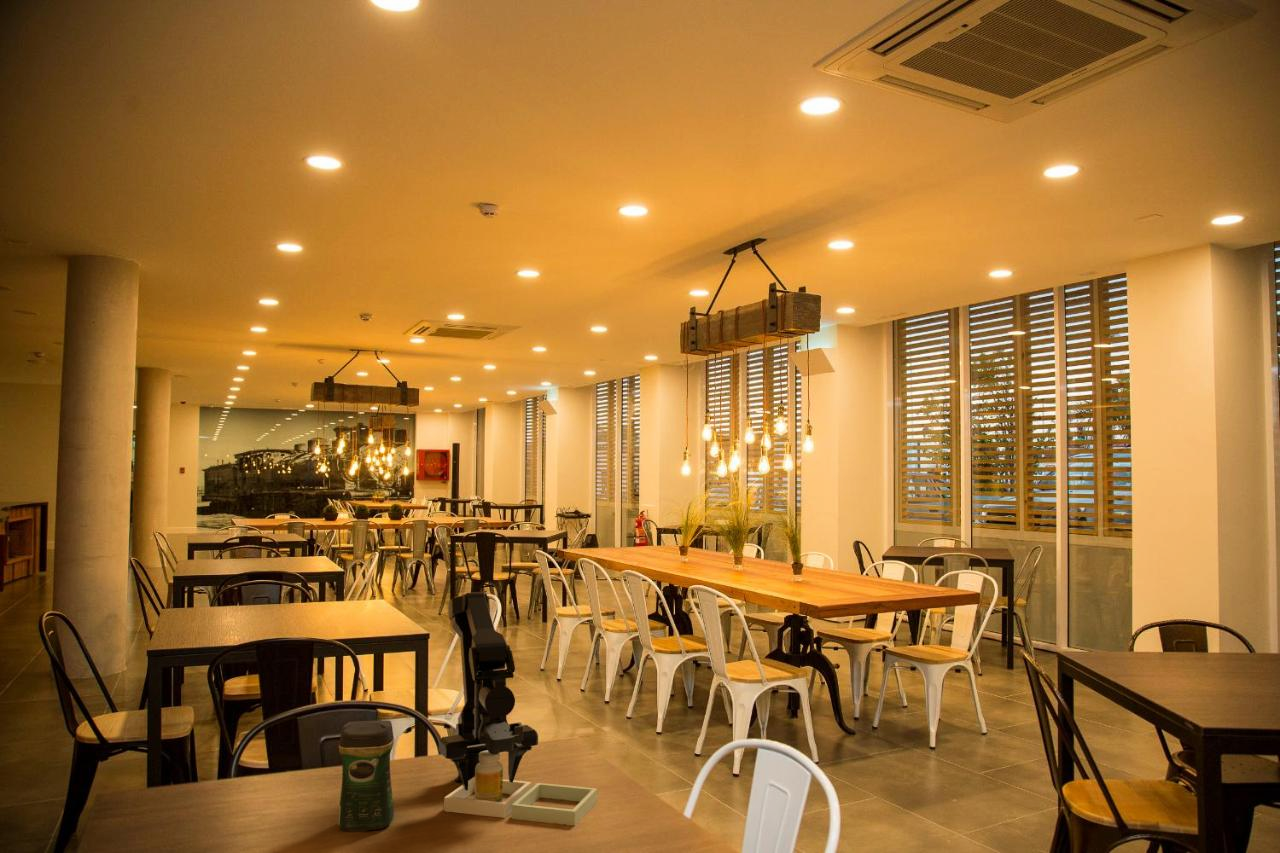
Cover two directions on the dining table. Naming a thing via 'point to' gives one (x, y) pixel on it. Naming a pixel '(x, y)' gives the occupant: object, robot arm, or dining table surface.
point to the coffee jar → (366, 775)
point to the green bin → (554, 815)
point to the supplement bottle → (489, 777)
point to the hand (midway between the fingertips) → (488, 785)
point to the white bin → (482, 807)
